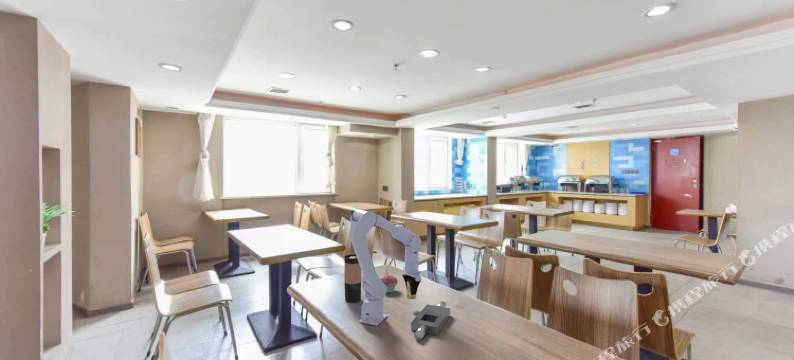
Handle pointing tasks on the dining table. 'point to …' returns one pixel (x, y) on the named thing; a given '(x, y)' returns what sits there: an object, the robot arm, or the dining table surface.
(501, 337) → the dining table surface
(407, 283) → the cylinder
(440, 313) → the junction block
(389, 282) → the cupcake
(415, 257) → the robot arm
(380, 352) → the dining table surface
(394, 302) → the dining table surface
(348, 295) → the travel mug
